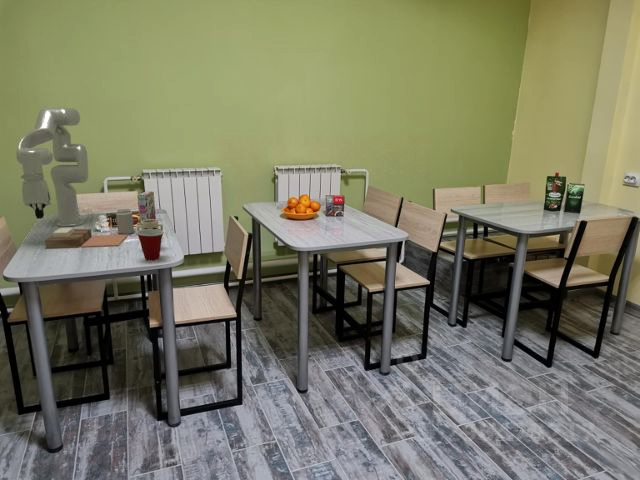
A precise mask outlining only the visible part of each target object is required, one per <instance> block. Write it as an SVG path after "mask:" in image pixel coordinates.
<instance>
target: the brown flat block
mask: <svg viewBox="0 0 640 480" xmlns="http://www.w3.org/2000/svg"><path fill="white" fill-rule="evenodd" d="M91 237H93V235H92V228H76V229H75V228H74V232H73V233H72V234H70V235H69V236H68V237H53V234H52V235H50V236H49V237H47V238H45V239H44V244H45V249H69V248H70V249H71V248H72V249H73V248H75V249H76V248H78V249H79V248H81V246H82V245H83V244H84V243H86V242H87V241H88V240H89V239H90V238H91Z"/></svg>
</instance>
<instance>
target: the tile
mask: <svg viewBox="0 0 640 480" xmlns="http://www.w3.org/2000/svg"><path fill="white" fill-rule="evenodd" d="M74 229H75V227H59V228H58V229H57V230H55V231H54V232H52V235H53V237H68V236H69V235H70V234H72V233H73V232H74Z"/></svg>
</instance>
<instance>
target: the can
mask: <svg viewBox="0 0 640 480" xmlns="http://www.w3.org/2000/svg"><path fill="white" fill-rule="evenodd" d="M115 217H116V224H117V233H118V234H119V235H127V234H128V235H131V234H133V233H134V232H135V227H134V218H133V217H134V216H133V211H131V209H130V208H120V209H117V211H116V213H115Z"/></svg>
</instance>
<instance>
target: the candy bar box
mask: <svg viewBox="0 0 640 480" xmlns="http://www.w3.org/2000/svg"><path fill="white" fill-rule="evenodd" d="M155 202H156V201H155V192H154V191H144V192H141V193H139V194H137V205H138V215H139V216H138V217H139V226H140V225H141V221H143V220H147V219H156V220H157V218H156V217H157V216H156V207H155V205H156V204H155Z"/></svg>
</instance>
